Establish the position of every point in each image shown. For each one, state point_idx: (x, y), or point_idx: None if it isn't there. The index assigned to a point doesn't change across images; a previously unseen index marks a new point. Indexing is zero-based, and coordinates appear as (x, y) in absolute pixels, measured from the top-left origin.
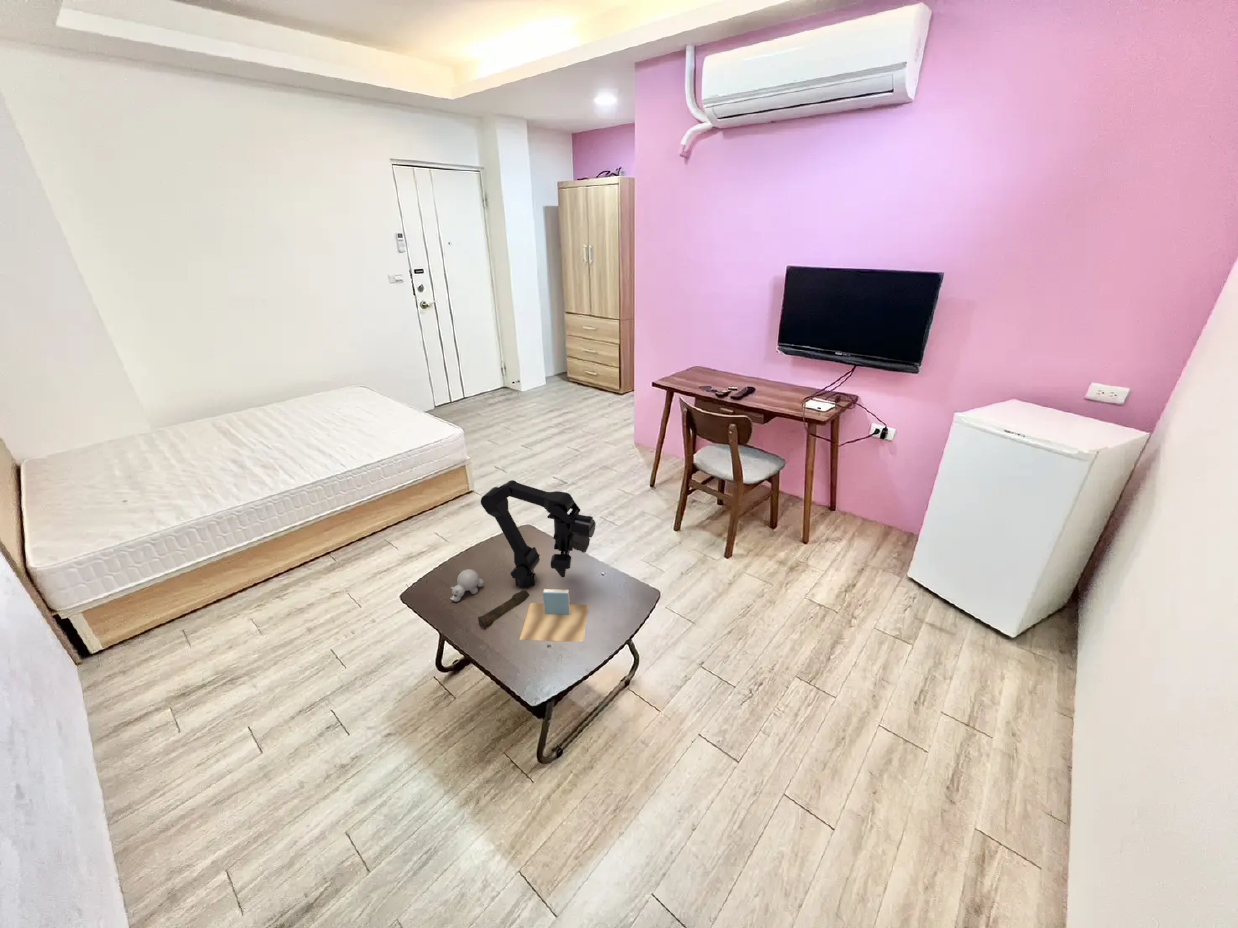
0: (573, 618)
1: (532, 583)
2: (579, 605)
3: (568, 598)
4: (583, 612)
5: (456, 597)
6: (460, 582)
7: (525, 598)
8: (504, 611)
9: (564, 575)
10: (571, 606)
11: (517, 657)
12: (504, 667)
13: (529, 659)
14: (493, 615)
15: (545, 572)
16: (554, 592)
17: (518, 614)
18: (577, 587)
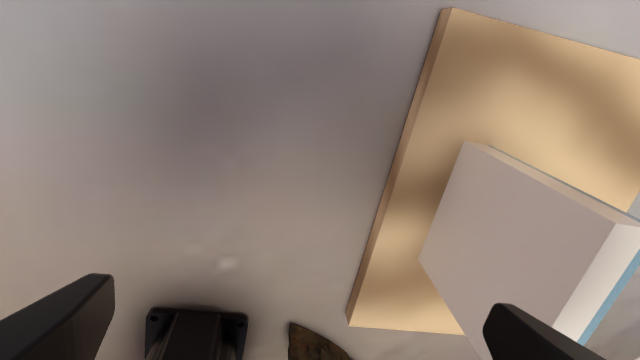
0: (527, 124)
1: (219, 344)
2: (437, 78)
3: (588, 196)
4: (505, 57)
5: None
6: None
7: (321, 352)
8: None
9: (555, 333)
10: (430, 130)
11: None
12: (613, 354)
13: (625, 292)
14: None
15: (75, 266)
16: (580, 334)
17: (386, 348)
18: (229, 74)
